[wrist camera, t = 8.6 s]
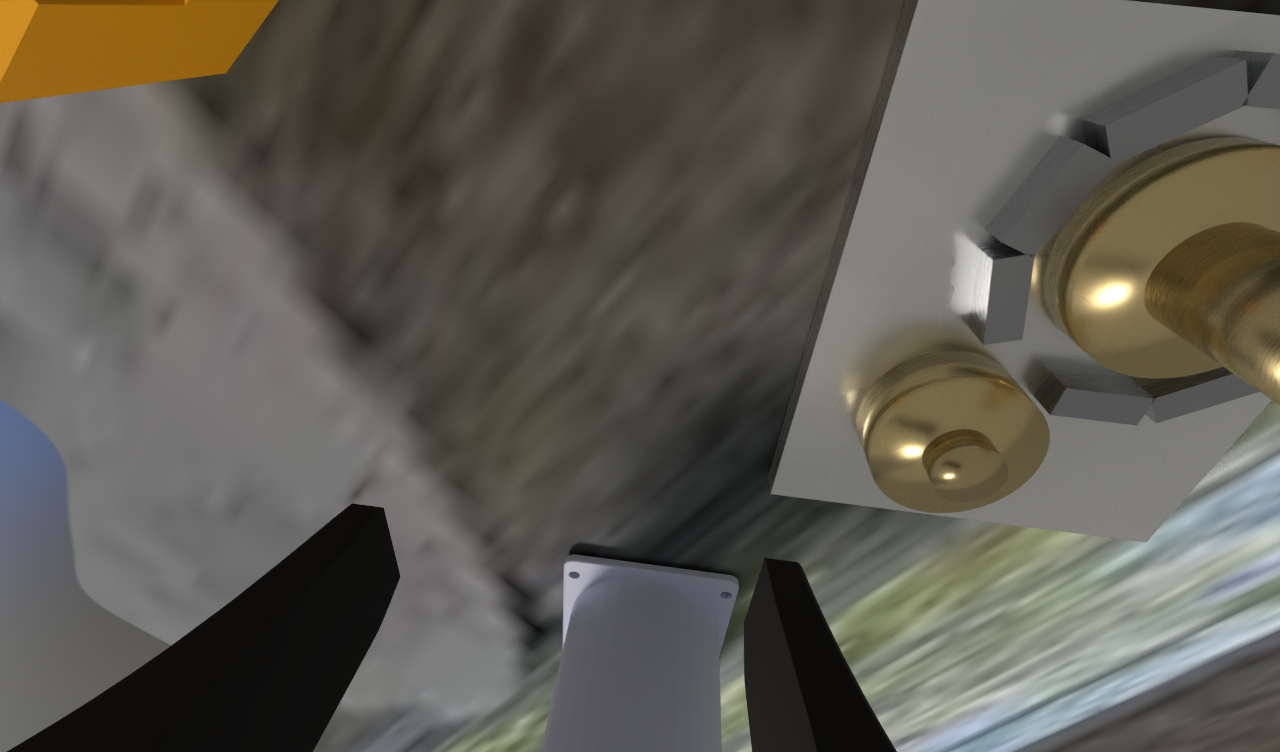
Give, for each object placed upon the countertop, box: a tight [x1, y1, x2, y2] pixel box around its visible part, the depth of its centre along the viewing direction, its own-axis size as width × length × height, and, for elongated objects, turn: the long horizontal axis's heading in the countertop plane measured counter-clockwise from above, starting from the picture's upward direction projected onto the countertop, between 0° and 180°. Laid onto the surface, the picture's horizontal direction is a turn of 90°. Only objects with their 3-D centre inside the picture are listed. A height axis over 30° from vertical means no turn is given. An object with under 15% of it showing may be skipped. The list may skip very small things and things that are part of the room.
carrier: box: [768, 0, 1280, 542], centre depth 16 cm, size 16×14×4 cm
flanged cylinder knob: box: [1044, 137, 1280, 405], centre depth 13 cm, size 6×6×6 cm
